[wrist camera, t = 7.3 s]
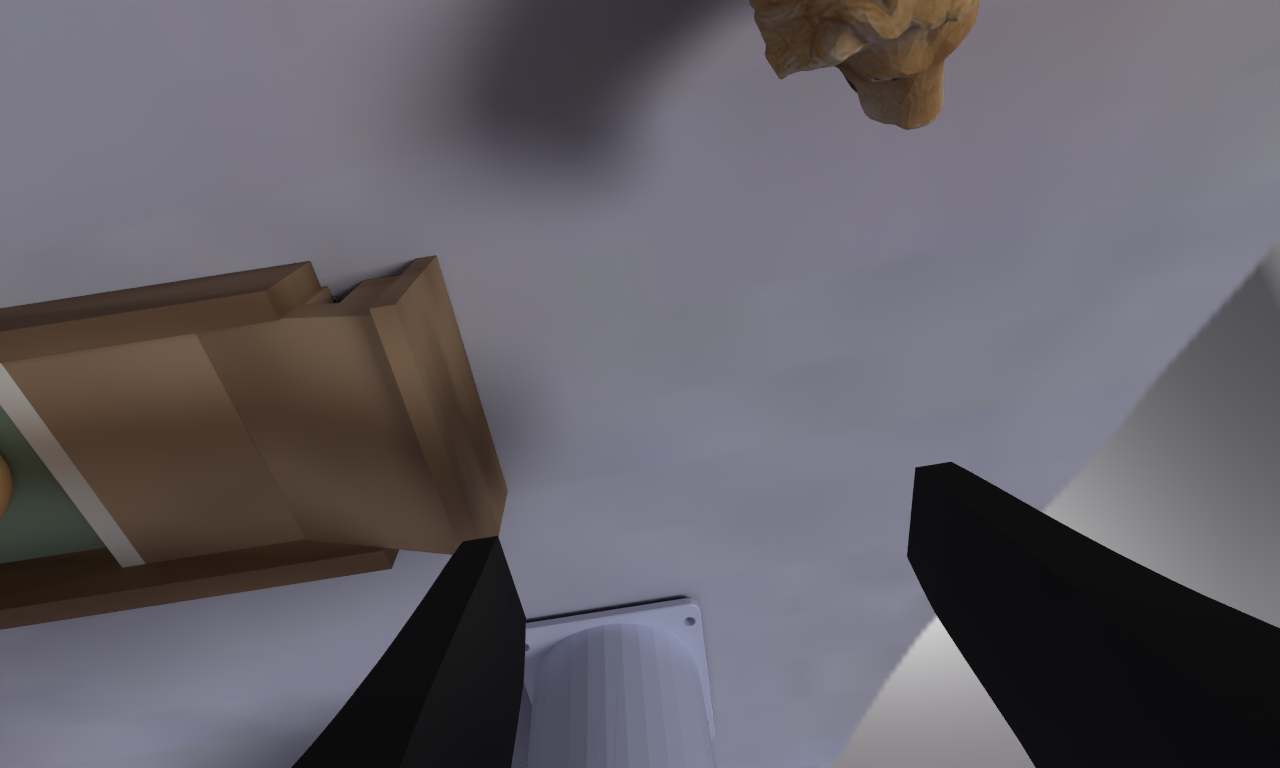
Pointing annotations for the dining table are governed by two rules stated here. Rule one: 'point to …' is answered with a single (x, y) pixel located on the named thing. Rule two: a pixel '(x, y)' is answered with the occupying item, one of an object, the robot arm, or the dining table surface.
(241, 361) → the wooden shadow box
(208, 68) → the dining table surface
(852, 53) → the lion figurine
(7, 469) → the ball
